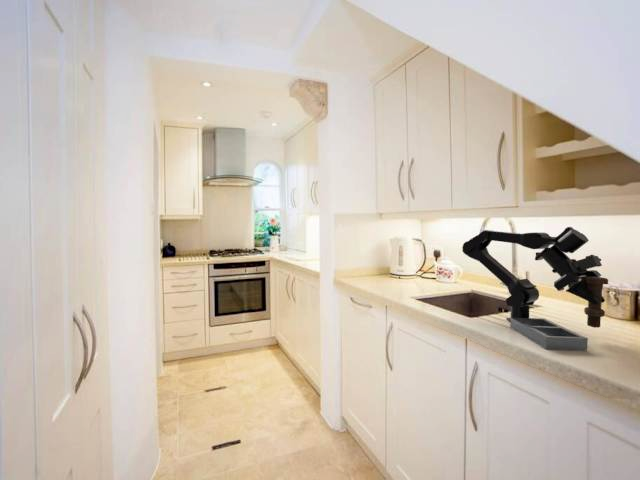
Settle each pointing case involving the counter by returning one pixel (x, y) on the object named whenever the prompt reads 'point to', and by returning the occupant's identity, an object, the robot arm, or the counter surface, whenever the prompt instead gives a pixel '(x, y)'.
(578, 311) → the counter surface
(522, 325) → the grey divided tray
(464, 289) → the counter surface
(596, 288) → the bolt
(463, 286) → the counter surface
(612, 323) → the counter surface
